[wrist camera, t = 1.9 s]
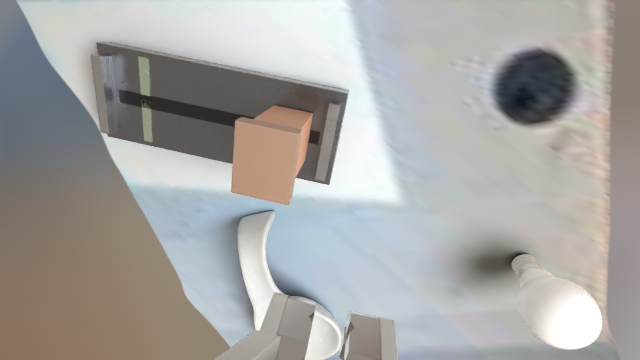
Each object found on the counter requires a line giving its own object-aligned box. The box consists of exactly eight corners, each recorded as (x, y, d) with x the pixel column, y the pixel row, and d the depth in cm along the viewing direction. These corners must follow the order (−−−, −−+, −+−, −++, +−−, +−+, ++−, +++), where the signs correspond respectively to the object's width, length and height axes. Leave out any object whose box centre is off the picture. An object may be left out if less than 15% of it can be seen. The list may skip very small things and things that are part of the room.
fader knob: (317, 109, 31) (299, 133, 23) (308, 164, 33) (288, 205, 25) (271, 99, 31) (235, 120, 23) (265, 154, 34) (231, 192, 25)
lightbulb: (513, 229, 36) (569, 302, 26) (563, 250, 36) (639, 330, 26) (481, 269, 38) (521, 349, 28) (528, 288, 38) (584, 374, 28)
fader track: (349, 90, 32) (347, 95, 29) (331, 177, 36) (327, 190, 33) (111, 42, 33) (84, 42, 30) (120, 131, 38) (97, 139, 34)
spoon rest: (353, 338, 46) (350, 386, 40) (281, 346, 49) (268, 392, 43) (299, 201, 38) (285, 234, 32) (217, 221, 41) (189, 254, 35)
